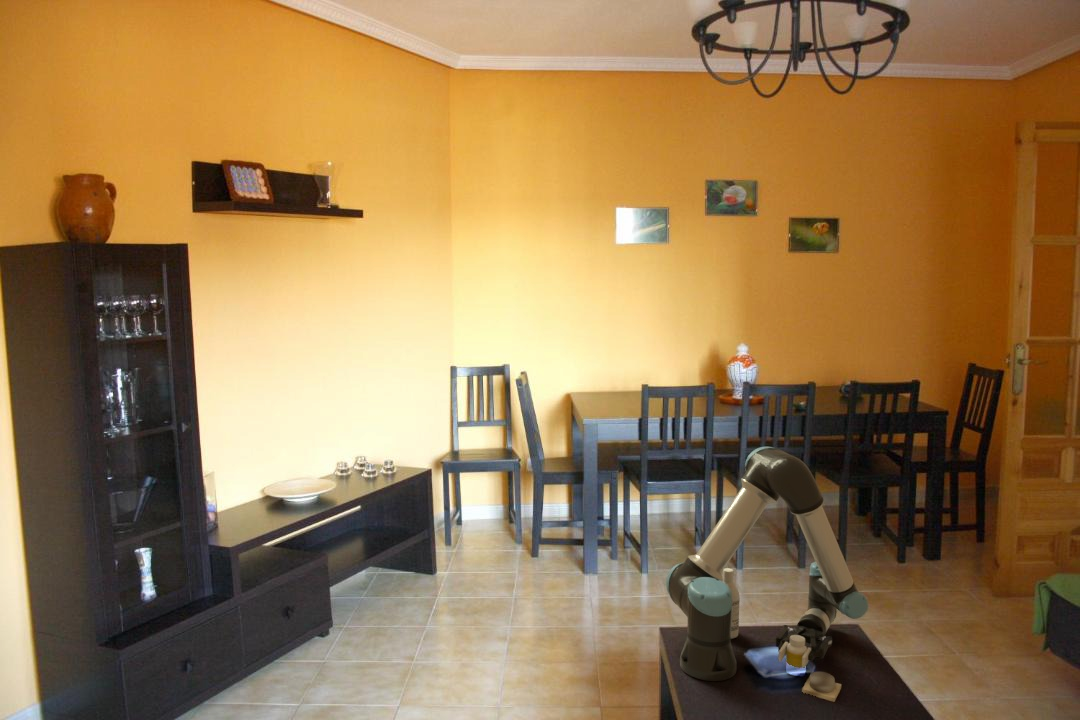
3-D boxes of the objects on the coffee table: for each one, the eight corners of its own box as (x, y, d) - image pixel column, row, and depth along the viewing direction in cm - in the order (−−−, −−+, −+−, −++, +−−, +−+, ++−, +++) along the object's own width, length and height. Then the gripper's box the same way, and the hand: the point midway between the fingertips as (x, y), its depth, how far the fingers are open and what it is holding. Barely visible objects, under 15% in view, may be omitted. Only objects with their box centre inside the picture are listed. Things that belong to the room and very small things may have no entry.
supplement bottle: (807, 678, 205) (809, 643, 204) (786, 676, 206) (787, 641, 205) (805, 668, 210) (806, 634, 209) (784, 666, 211) (785, 632, 210)
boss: (802, 692, 198) (802, 679, 198) (809, 679, 205) (810, 666, 204) (834, 702, 194) (835, 688, 193) (841, 687, 200) (841, 675, 200)
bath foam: (738, 630, 233) (740, 567, 231) (737, 640, 226) (739, 575, 224) (715, 627, 235) (717, 564, 233) (713, 637, 228) (715, 572, 226)
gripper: (845, 647, 218) (827, 682, 199) (780, 630, 228) (756, 663, 208) (847, 621, 217) (828, 655, 198) (781, 606, 227) (757, 636, 208)
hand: (791, 659), depth 203 cm, fingers closed on supplement bottle, 5 cm apart
